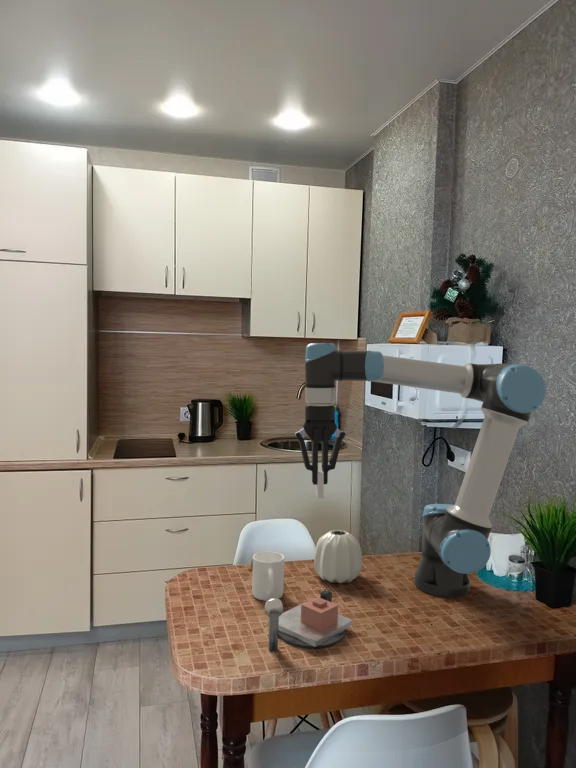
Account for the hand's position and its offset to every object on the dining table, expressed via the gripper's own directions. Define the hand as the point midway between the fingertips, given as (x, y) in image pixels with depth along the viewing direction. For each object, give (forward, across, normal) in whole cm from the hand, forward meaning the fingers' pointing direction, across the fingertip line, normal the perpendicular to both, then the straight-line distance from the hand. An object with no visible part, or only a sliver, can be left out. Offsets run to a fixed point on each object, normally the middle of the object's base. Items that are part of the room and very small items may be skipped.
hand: (319, 496), depth 144 cm
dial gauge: (+28, +14, +21) cm, 37 cm away
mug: (+28, +13, -5) cm, 31 cm away
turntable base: (+28, +4, +14) cm, 31 cm away
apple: (+28, +13, -17) cm, 35 cm away
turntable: (+27, +4, +14) cm, 30 cm away
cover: (+25, +2, +15) cm, 29 cm away
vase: (+28, -8, -17) cm, 34 cm away
